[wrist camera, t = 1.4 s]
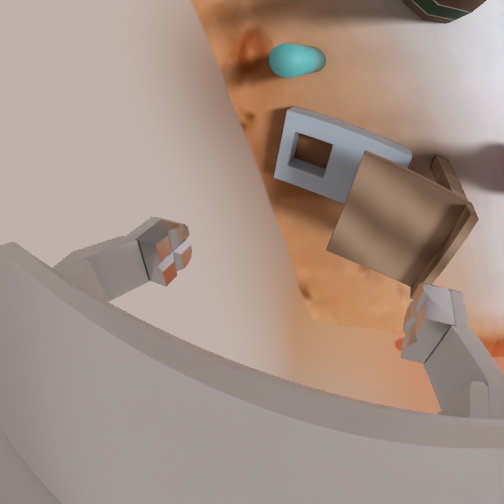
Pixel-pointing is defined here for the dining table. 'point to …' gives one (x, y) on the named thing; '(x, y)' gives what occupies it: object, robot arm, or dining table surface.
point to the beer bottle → (443, 9)
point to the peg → (295, 60)
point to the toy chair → (403, 220)
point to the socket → (342, 155)
